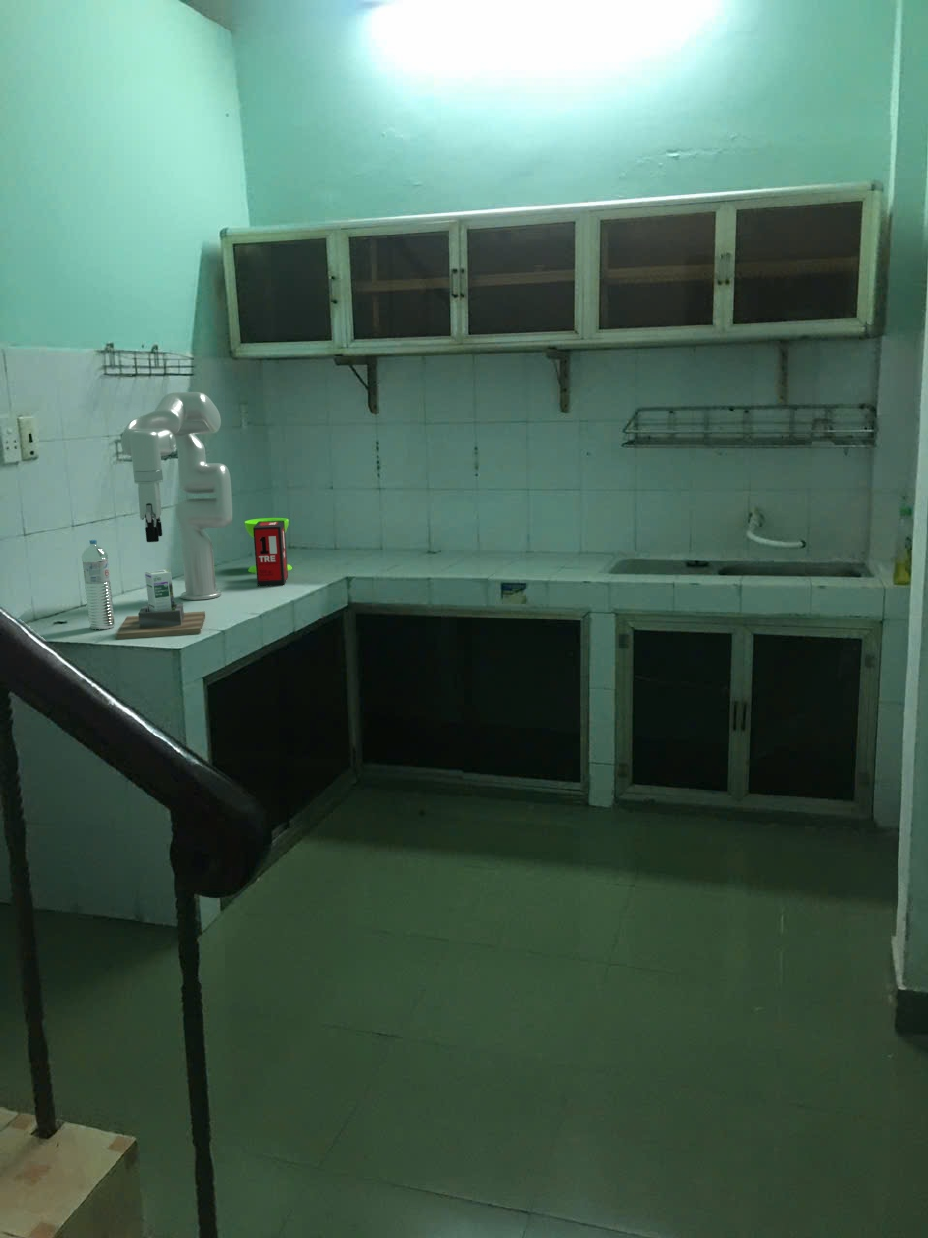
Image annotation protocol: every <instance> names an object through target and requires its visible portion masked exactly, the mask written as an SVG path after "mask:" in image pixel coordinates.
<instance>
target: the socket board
mask: <svg viewBox="0 0 928 1238" xmlns="http://www.w3.org/2000/svg"><path fill="white" fill-rule="evenodd" d="M174 606H175V610H172V611H156V612H149V605H148V604H147V605H142V606H141V608H140V610H139V612H138V615H130V616H129V615H128V616H126V617H125V619H124V621H123V623H122V624H121V625H120V627H119V629H117V632H116V634H115V637H116V640H125V639H127V640H128V639H137V638H138V639H140V638H141V639H142V638H154V637H155V638H156V637H169V636H170V637H171V636H182V635H186V636H187V635H197V634H198V635H200V634H199V633H201V634H202V630H203V626H204V623H203V622H205V619H206V611H204V610H203V611H189V612H188V611H187V612H184V603H183V602H182V603H181V602H179V603H174ZM201 629H202V630H201Z"/></svg>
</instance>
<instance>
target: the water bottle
mask: <svg viewBox="0 0 928 1238" xmlns="http://www.w3.org/2000/svg"><path fill="white" fill-rule="evenodd" d="M97 543H98V542H97V539H91V540H89V545H90V546H89V545H88V547H87V548H86V549H85V550H84V551H83V553H82V554H81V561H82V566H83V567H82V568H83V575H84V576H83V577H84V586H85V596H86V599H85V600H86V604H87V607H86V608H87V615H88V623H89V627H90V629H91V630H93V629H95V630H94V631H97V630H96V629H99V630H98V631H101V630H100V629H104V630H107V629H109V628H110V629H113V628H114V627H115V626H116V625H115V624H116V623H115V622H116V621H115V613H114V612H115V611H114V602H113V595H112V585H111V584H112V583H111V579H110V570H109V557H108V553H107V552H106V550H104V549H103V548H102V547H101V546H99V545H97Z"/></svg>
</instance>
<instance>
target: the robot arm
mask: <svg viewBox="0 0 928 1238" xmlns="http://www.w3.org/2000/svg"><path fill="white" fill-rule="evenodd" d="M221 425H222V419H221V414H220V412H219V410H218V408H217V406H216V405H215V404H214V402H213V401H212V399H211V398H210V397H209V396H207V395H206V394H205V393H204V392H200V391H185V392H184V391H183V392H182V391H179V392H169V393H167V394H166V395H164V396H163V397H162V399H161V400H160V402H159V403H158V405H157V406H156V408H155V409H154V410H153V411H151V412H148V413H146V414H143V415H141V416H138V417H137V418H134V419H133V420H131V421H130V422H128V424H127V425H126V427H125V428H124V430H123V432H122V435H121V440H120V442H121V443H120V444H121V448H122V451H123V452H124V453H125V454H126V455H127V456H129V457H131V463H132V471H133V480H134V481H133V482H134V484H137V485H138V487H137V489H138V490H137V492H138V507H139V519H140V520H141V521H143V520H144V521H145V522H144V525H145V527H144V530H145V537H146V538H145V541H146V543H157V542H159V541H160V538H159V537H162V536H163V528H162V527H163V526H162V521H161V516H162V501H161V489H160V483H163V482H164V476H163V467H162V465H163V464H162V456H163V457H164V456H168V455H171V454H172V453H173V451H174V450H175V448H176V451H177V466H178V483H179V488H180V490H181V492H183V493H184V494H189V495H202V494H204V495H208V494H212V495H213V494H214V495H215V497H195V498H194V497H190V498H184V499H181V500H180V501H179V502H177V504H176V505H175V508H174V510H175V511H174V512H175V513H174V514H175V518H176V521H177V522H176V523H177V525H178V529H179V535H180V544H181V554H182V555H181V556H182V563H183V564H182V565H183V566H182V567H183V576H184V588H185V591H184V592H182V593H180V597H181V599H183V600H192V601H198V600H199V601H200V600H208V599H214V598H218V597H221V596H222V591H221V590H219V589H217V587H216V585H217V584H216V576H215V574H216V573H215V561H214V551H213V550H214V549H213V541H212V539H211V537H210V536H209V535H208V533H207V532H206V530H204V529H222V528H228V527H229V526H230V525H231V524H232V522H233V499H232V498H233V496H232V495H233V493H232V480H231V478H232V477H231V474H230V470H229V468H228V466H227V465H225V464H223V463H218V462H215V463H213V462H212V463H207V460H206V457H207V456H206V448H205V445H204V443H203V442H202V441H201V440H200V438H199V437H198V436H197V435H211V434H212V435H213V434H215V433H217V432H219V430H220V429H221Z"/></svg>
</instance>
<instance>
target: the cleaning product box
mask: <svg viewBox="0 0 928 1238" xmlns="http://www.w3.org/2000/svg"><path fill="white" fill-rule="evenodd" d="M253 531H254V538H253V541H254V555H255V557H254V558H255V565H256V571H257V573H256V583H257V587H258V588H260V587H261V588H262V587H281V586H282V587H283V585H284V586H285V585H286V583H287V581H288V578H289V570H288V567H287V564H288V554H287V553H288V552H287V542H286V539H287V538H286V532H285V523H284V521H259V522H258V523H257V524H256V525H255V526H254V528H253ZM286 580H287V581H286Z"/></svg>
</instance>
